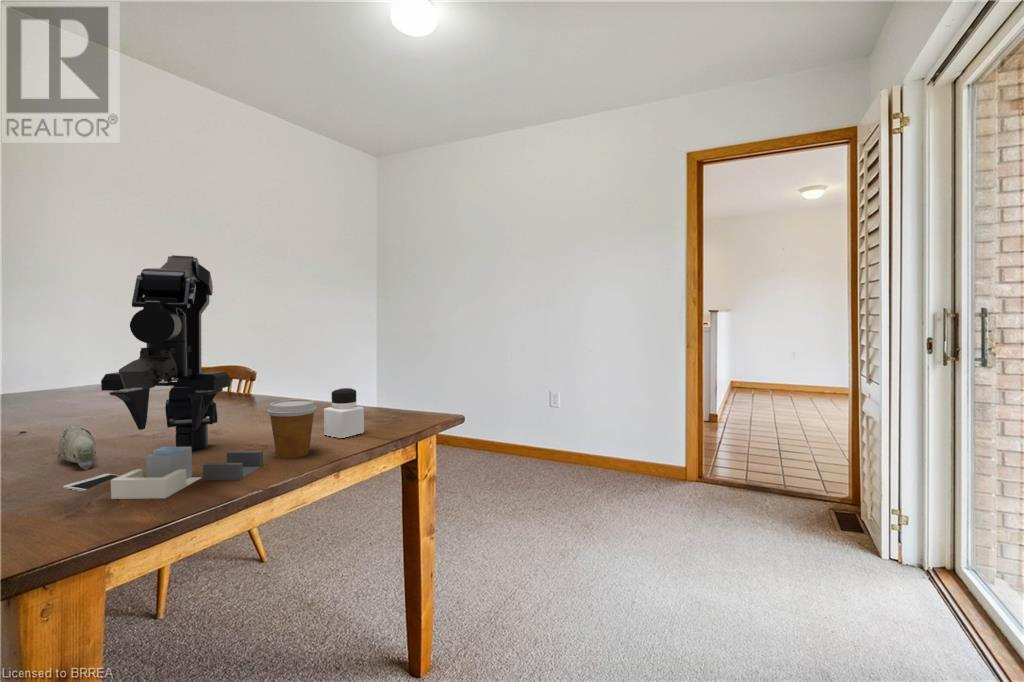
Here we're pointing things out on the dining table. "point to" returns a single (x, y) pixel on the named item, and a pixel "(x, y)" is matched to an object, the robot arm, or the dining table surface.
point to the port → (149, 485)
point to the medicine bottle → (343, 415)
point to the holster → (234, 466)
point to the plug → (169, 461)
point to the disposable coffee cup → (292, 426)
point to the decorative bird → (77, 445)
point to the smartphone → (89, 482)
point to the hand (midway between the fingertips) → (168, 429)
